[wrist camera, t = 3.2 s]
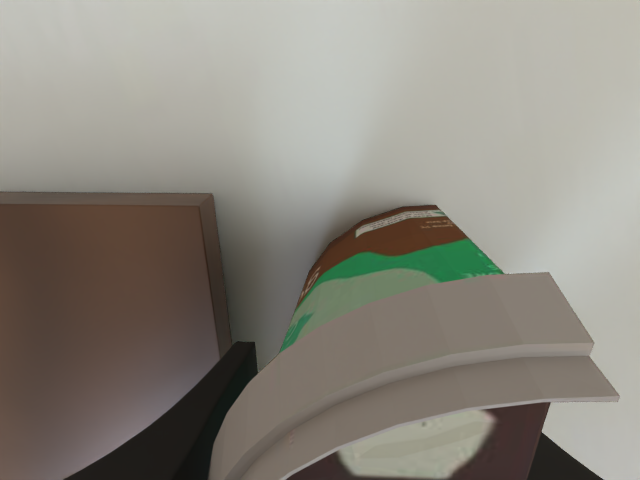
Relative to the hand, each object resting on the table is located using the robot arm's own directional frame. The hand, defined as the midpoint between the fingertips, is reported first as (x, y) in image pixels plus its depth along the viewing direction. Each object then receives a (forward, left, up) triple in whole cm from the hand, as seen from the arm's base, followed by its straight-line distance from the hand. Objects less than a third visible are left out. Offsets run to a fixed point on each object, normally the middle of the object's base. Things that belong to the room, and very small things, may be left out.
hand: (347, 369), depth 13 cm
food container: (0, 0, -4) cm, 4 cm away
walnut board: (+13, +6, -3) cm, 15 cm away
